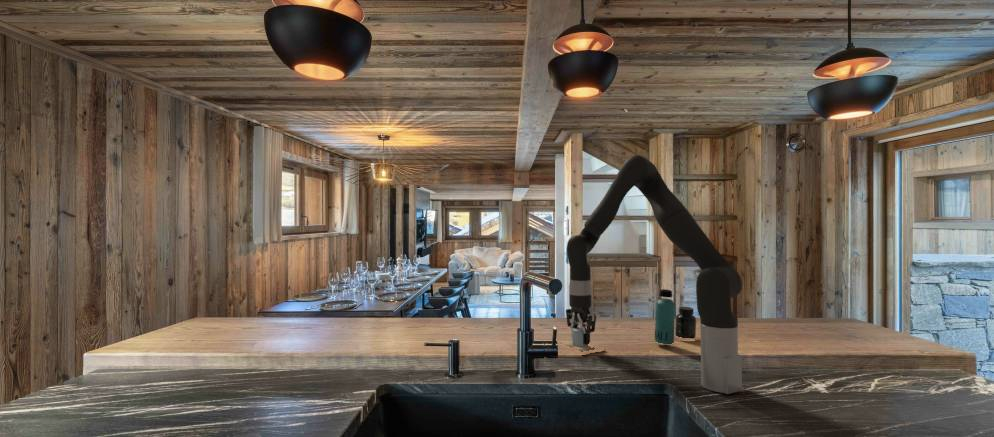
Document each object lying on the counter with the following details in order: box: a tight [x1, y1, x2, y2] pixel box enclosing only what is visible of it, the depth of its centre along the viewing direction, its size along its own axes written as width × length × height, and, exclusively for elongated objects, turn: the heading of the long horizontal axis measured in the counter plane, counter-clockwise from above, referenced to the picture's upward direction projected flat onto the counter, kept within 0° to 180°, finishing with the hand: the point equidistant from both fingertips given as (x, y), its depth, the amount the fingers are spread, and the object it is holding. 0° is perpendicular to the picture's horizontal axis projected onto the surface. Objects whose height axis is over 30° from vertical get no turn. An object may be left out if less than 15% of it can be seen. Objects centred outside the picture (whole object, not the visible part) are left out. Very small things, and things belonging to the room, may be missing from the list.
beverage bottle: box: [654, 288, 676, 345], centre depth 154 cm, size 6×7×20 cm
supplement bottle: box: [674, 306, 697, 339], centre depth 162 cm, size 7×7×12 cm
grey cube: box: [571, 327, 588, 347], centre depth 152 cm, size 5×5×5 cm
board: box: [559, 340, 595, 352], centre depth 152 cm, size 12×10×5 cm
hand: (580, 341), depth 153 cm, fingers closed on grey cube, 5 cm apart
